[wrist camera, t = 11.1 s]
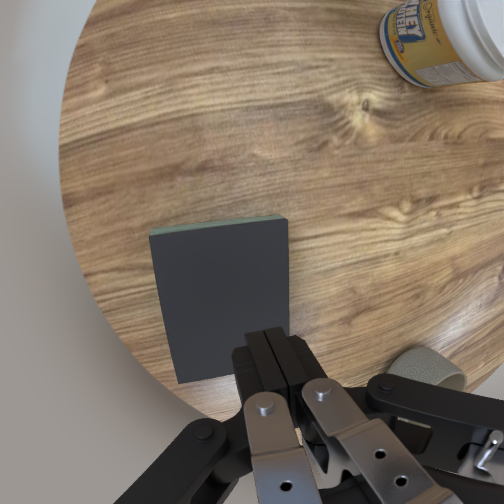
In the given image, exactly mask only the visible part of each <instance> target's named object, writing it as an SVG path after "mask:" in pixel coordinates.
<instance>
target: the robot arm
mask: <svg viewBox="0 0 504 504" xmlns="http://www.w3.org/2000/svg"><path fill="white" fill-rule="evenodd" d="M244 335H245V343H246V346H242V347H236V348H234V350H233V353H232V356H231V358H232V364H233V369H234V374H235V380H236V385H237V389H238V393H239V396H240V400H241V404H242V407H241V409H240V411H239V412H238V413H237V414H236V415H235V416H234V417H232V418H230V419H228V420H226V421H224V422H222V423H221V422H220V421H218V420H215V419H211V418H203V419H198V420H195V421H193V422H191V423H190V424H188V426H186V427H185V428H184V429H183V431H182V432H181V433H180V434H179V435H178V436H177V437H176V438H175V439H174V441H173V442H172V443H171V444H170V445H169V446H168V447H167V448H166V449H165V451H164V452H163V453H162V454H161V455H160V456H159V457H158V458H157V459H156V460H155V461H154V462H153V463H152V465H150V467H149V468H148V469H147V470H146V471H145V472H144V473H143V474H142V475H141V476H140V477H139V478H138V479H137V480H136V481H135V482H134V483H133V484H132V485H131V486H130V487H129V488H128V490H126V492H124V494H123V495H121V496H120V497H119V498H118V500H116V502H115V503H113V504H223V503H224V501H225V500H226V499H227V497H228V496H229V494H230V493H231V491H232V490H233V488H234V487H235V486H236V484H237V482H238V480H239V478H240V477H242V476H244V475H246V474H248V473H250V472H252V471H253V474H254V480H255V486H256V491H257V497H258V502H259V504H504V401H503V400H499V399H494V398H488V397H484V396H479V395H474V394H470V393H466V392H461V391H457V390H452V389H448V388H444V387H440V386H436V385H432V384H428V383H424V382H420V381H416V380H413V379H409V378H405V377H401V376H398V375H394V374H389V373H384V374H378V375H376V376H374V377H372V378H371V379H370V380H369V381H368V384H367V386H366V387H353V388H348V387H342V386H341V384H340V383H338V382H337V381H335V380H333V379H329V378H328V377H327V375H326V374H325V372H324V370H323V369H322V367H321V366H320V364H319V362H318V361H317V359H316V358H315V356H314V354H313V353H312V351H311V350H310V348H309V347H308V345H307V343H306V342H305V340H303V339H301V338H300V337H298V336H296V335H294V336H289V337H287V336H286V334H285V332H284V331H283V329H282V327H281V326H279V327H274V328H269V329H265V330H263V331H262V330H260V331H255V332H250V333H245V334H244ZM398 417H400V418H404V419H407V420H411V421H414V422H418V423H421V424H425V425H428V426H430V428H426V427H422V426H419V425H415V424H412V423H408V422H405V421H402V420H398ZM298 427H299V428H300V430H301V433H302V443H303V445H304V447H305V449H306V451H307V452H308V454H309V456H310V458H311V460H312V461H313V463H314V465H315V467H316V468H317V470H318V472H319V474H320V475H321V477H322V479H323V482H324V485H325V489H318V488H317V485H316V482H315V479H314V476H313V473H312V470H311V466H310V464H309V460H308V458H307V454H306V452H305V449H304V447H303V446H300V444H299V441H298V437H297V434H296V431H295V428H298ZM436 468H437V469H436ZM440 469H441V470H440ZM443 470H445V471H443ZM447 471H449V472H447ZM450 472H453V473H450ZM454 473H457V474H454Z"/></svg>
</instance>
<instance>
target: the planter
mask: <svg viewBox="0 0 504 504" xmlns="http://www.w3.org/2000/svg"><path fill="white" fill-rule="evenodd" d="M387 373H389V374H394V375H398V376H401V377H405V378H409V379H413V380H416V381H420V382H424V383H428V384H432V385H436V386H440V387H444V388H448V389H452V390H457V391H461V392H464V391H465V388H466V385H467V376H466V374H465V373H464V372H463V371H462V370H461V369H460V368H458V367H457V366H456V365H455V364H453V363H452V362H451V361H449V360H448V359H446V358H445V357H444V356H442V355H441V354H439V353H438V352H436V351H434V350H433V349H430V348H428V347H416V348H412V349H410V350H408V351H406V352H404V353H403V354H401V355H400V356H399V357H398V358H397V359H396V360H395V361H394V362H393V363H392V364H391V366H390V367H389V369H388V371H387ZM398 418H399V420H402V421H405V422H408V423H412V424H415V425H419V426H422V427H426V428H430V426H428V425H425V424H421V423H418V422H414V421H411V420H407V419H404V418H400V417H398Z"/></svg>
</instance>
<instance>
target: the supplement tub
mask: <svg viewBox="0 0 504 504" xmlns="http://www.w3.org/2000/svg"><path fill="white" fill-rule="evenodd" d="M379 34H380V41H381V44H382V48H383V50H384V53H385V55H386V57H387V58H388V60H389V62H390V63H391V65H392V66H393V67H394V69H395V70H396V71H397V72H398V73H399V74H400V75H401V76H402V77H403V78H405V79H406V80H407V81H409V82H411V83H412V84H414V85H416V86H420V87H424V88H435V87H441V86H449V85H458V84H467V83H477V82H490V81H491V82H495V81H499V80H502V79H504V0H409V1H407V2H405V3H403V4H401V5H399V6H397V7H395V8H392V9H391V10H390V11H388V12H387V14H386V15H385V16H384V18H383V19H382V21H381V24H380V30H379Z"/></svg>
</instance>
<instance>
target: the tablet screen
mask: <svg viewBox="0 0 504 504" xmlns="http://www.w3.org/2000/svg"><path fill="white" fill-rule="evenodd" d="M149 241H150V248H151V254H152V261H153V267H154V273H155V278H156V284H157V289H158V295H159V300H160V305H161V310H162V315H163V320H164V325H165V329H166V334H167V339H168V343H169V347H170V352H171V356H172V360H173V364H174V368H175V372H176V376H177V380H178V384H182V383H188V382H194V381H200V380H205V379H211V378H216V377H221V376H226V375H231V374H234V369H233V364H232V358H231V356H232V353H233V350H234V348H236V347H242V346H246V343H245V335H244V334H245V333H250V332H255V331H260V330H262V331H263V330H265V329H269V328H274V327H279V326H281V327H282V329H283V331H284V332H285V334H286V336H287V337H289V248H288V219H286V218H281V219H273V220H264V221H256V222H248V223H240V224H232V225H224V226H216V227H208V228H201V229H193V230H186V231H178V232H171V233H164V234H157V235H150V236H149Z"/></svg>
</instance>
